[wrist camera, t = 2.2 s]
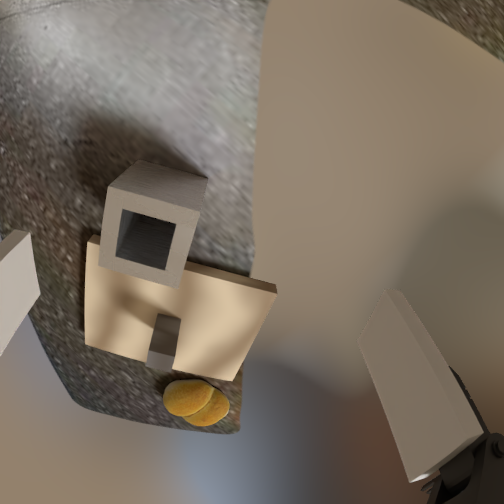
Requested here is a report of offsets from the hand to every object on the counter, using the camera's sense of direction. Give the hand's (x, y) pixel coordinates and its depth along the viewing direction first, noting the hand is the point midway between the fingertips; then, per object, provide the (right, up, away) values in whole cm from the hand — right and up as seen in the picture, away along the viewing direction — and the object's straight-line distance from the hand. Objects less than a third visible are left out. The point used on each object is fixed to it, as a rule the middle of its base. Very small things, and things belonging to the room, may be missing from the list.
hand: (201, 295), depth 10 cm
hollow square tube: (-6, +6, +15) cm, 17 cm away
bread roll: (-6, -18, +29) cm, 35 cm away
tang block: (-7, -5, +21) cm, 23 cm away
